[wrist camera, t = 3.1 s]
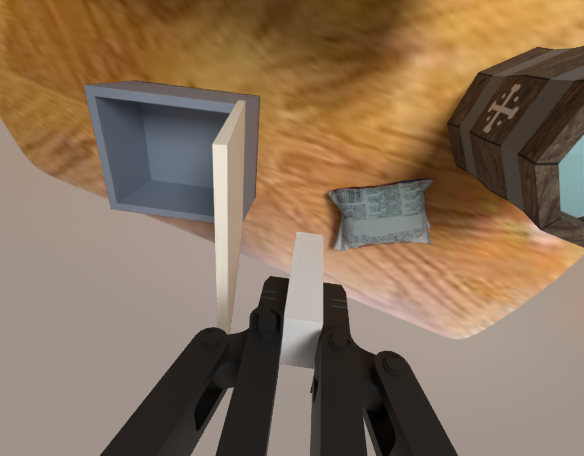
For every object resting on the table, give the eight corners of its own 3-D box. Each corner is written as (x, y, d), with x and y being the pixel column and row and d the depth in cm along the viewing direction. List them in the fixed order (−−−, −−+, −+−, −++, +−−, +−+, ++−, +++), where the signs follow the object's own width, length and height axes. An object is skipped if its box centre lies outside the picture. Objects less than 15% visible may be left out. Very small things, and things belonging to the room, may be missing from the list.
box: (134, 80, 32) (83, 85, 26) (260, 96, 32) (242, 104, 25) (149, 182, 38) (111, 209, 31) (255, 196, 38) (240, 226, 31)
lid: (212, 143, 12) (227, 145, 12) (238, 100, 25) (245, 100, 25) (218, 349, 18) (228, 349, 19) (236, 231, 31) (242, 231, 31)
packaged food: (424, 234, 39) (436, 255, 34) (333, 242, 40) (334, 262, 36) (427, 170, 35) (442, 184, 30) (326, 182, 37) (327, 197, 32)
